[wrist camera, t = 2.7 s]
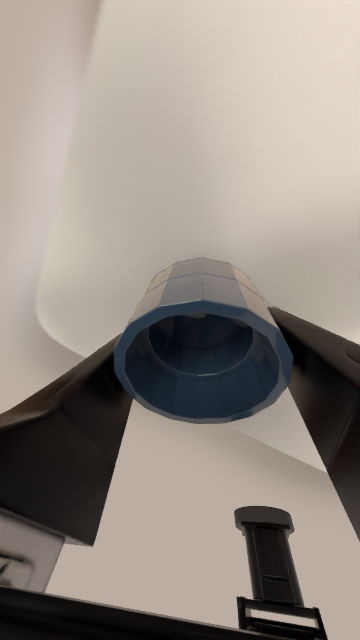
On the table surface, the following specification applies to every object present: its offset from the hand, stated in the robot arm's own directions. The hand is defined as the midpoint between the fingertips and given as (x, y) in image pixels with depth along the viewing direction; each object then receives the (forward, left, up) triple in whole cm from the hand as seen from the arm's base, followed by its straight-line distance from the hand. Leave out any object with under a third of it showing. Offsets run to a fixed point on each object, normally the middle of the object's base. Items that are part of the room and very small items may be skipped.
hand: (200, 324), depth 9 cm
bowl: (0, 0, -1) cm, 1 cm away
